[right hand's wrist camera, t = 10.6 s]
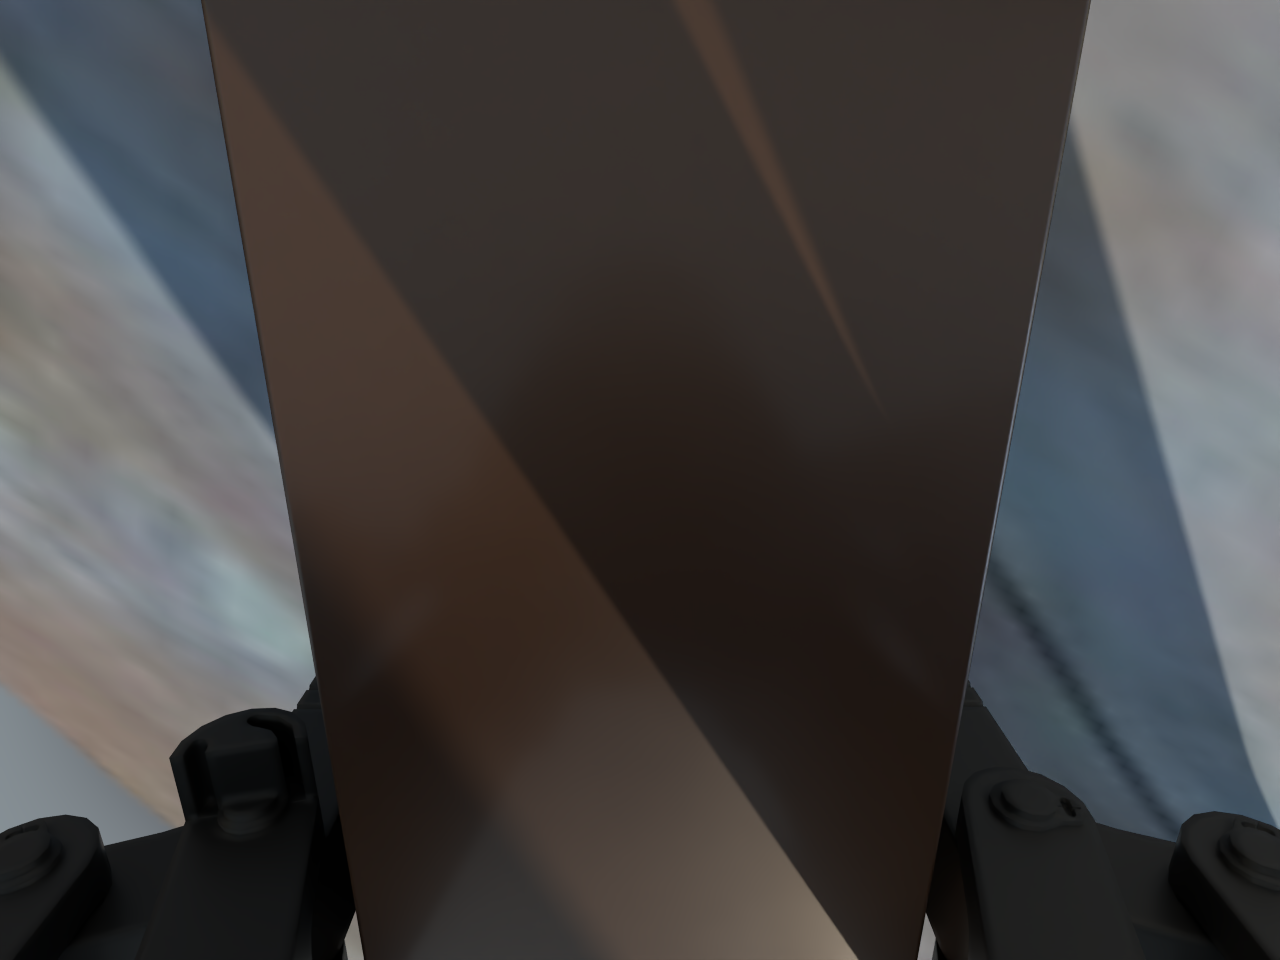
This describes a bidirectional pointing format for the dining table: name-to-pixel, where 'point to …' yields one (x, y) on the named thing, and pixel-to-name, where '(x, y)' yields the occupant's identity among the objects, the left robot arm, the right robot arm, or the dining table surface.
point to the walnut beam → (643, 442)
